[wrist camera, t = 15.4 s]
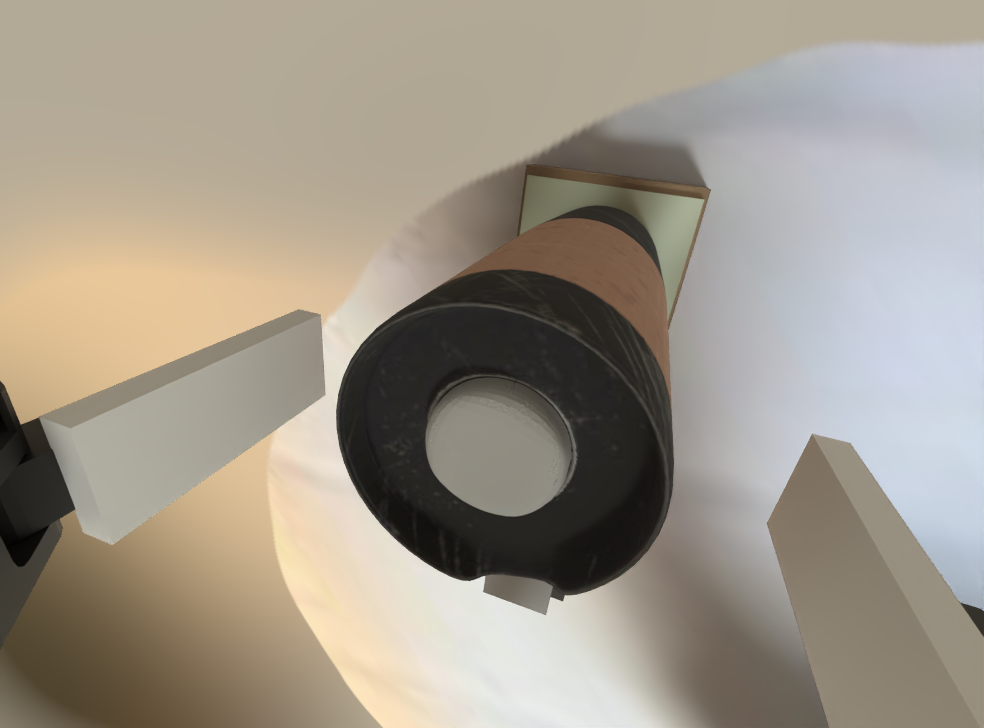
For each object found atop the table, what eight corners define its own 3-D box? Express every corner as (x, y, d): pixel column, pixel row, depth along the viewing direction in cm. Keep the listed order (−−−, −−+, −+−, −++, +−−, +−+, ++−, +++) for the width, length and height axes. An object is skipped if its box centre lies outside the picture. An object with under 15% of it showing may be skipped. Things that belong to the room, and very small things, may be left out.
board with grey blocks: (707, 187, 25) (738, 206, 16) (605, 526, 37) (588, 654, 28) (534, 164, 28) (471, 169, 18) (489, 489, 39) (437, 596, 30)
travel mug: (585, 170, 25) (427, 201, 8) (694, 257, 25) (782, 484, 8) (507, 277, 29) (286, 460, 12) (602, 352, 29) (522, 647, 12)
